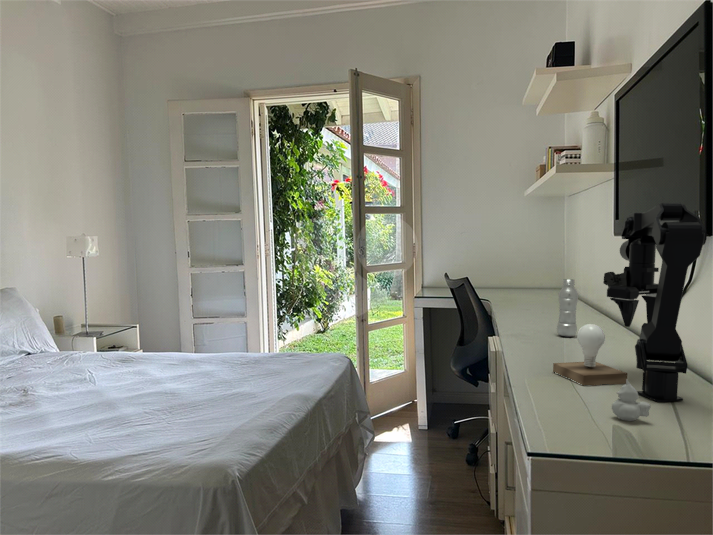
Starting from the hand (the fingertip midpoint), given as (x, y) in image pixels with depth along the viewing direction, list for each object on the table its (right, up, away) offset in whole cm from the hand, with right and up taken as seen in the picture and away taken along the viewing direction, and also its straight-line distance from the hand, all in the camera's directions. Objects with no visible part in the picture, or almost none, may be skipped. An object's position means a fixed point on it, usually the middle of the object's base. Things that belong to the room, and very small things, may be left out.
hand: (638, 325), depth 133 cm
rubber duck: (-18, -15, -31) cm, 39 cm away
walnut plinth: (-13, -13, -1) cm, 18 cm away
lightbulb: (-13, -11, -1) cm, 17 cm away
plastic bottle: (+3, -10, +53) cm, 54 cm away
